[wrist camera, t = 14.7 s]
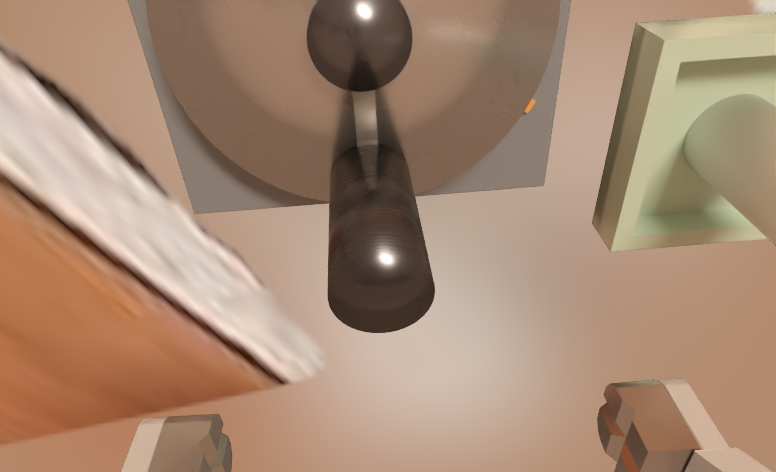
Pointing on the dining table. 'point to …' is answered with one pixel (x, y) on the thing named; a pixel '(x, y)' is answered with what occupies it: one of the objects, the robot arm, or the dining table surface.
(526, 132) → the crank base
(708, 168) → the pin
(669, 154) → the tray
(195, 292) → the dining table surface
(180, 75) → the crank
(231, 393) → the dining table surface
